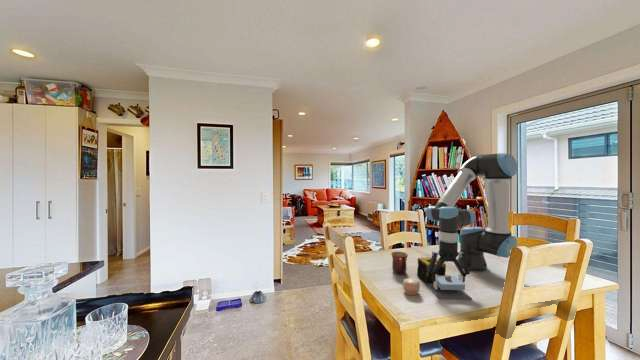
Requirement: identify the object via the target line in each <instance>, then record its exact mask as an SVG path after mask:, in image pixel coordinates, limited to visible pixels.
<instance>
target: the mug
mask: <svg viewBox="0 0 640 360" xmlns="http://www.w3.org/2000/svg"><path fill="white" fill-rule="evenodd" d="M390 254H391V258H392V264H391V265H392V267H391V268H392V272H393V273H394V274H396V275H405V274H406V273H407V260H408V256H409V254H408V253H407V252H404V251H391V253H390Z"/></svg>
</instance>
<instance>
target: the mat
mask: <svg viewBox="0 0 640 360" xmlns="http://www.w3.org/2000/svg"><path fill="white" fill-rule="evenodd" d="M426 285H427V287H428V288H429V289H430V291H431V292H432V293H433V294H434V295H435V296H436V298H437V299H439V300H460V301H461V300H466V301H472V299H473V298H472V297H471V296H470V295H469V294H468V293H467V292H466V291H465V290H441V289H440V288H439V287H438V286H437V290H436V289H435V288H434V284H432V283H427V284H426Z"/></svg>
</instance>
